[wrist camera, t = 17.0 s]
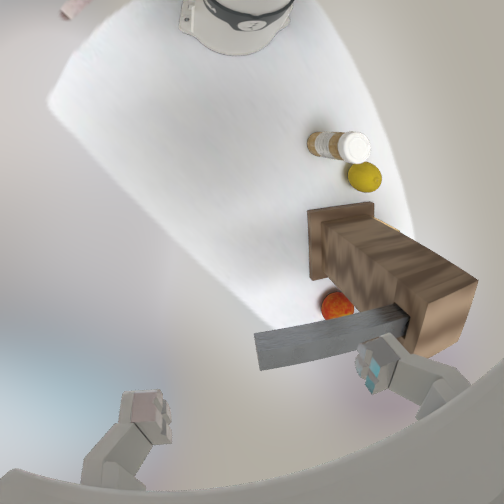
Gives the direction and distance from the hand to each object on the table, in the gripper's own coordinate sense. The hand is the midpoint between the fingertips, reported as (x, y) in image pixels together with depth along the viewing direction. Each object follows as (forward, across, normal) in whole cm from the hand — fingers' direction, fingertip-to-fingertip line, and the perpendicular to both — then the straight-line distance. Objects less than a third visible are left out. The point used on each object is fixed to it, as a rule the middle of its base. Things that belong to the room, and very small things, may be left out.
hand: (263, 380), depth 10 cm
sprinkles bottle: (+39, -20, -6) cm, 44 cm away
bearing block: (+39, -24, +13) cm, 48 cm away
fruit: (+39, -22, +27) cm, 53 cm away
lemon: (+39, -27, 0) cm, 48 cm away
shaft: (+15, -14, +13) cm, 24 cm away
